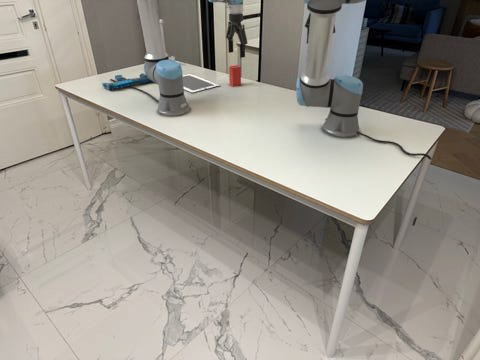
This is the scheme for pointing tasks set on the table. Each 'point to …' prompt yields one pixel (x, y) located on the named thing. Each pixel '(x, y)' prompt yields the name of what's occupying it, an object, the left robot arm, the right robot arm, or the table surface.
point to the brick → (235, 75)
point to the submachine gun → (125, 82)
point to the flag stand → (164, 40)
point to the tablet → (196, 83)
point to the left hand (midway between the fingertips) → (236, 54)
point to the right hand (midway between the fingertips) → (317, 45)
